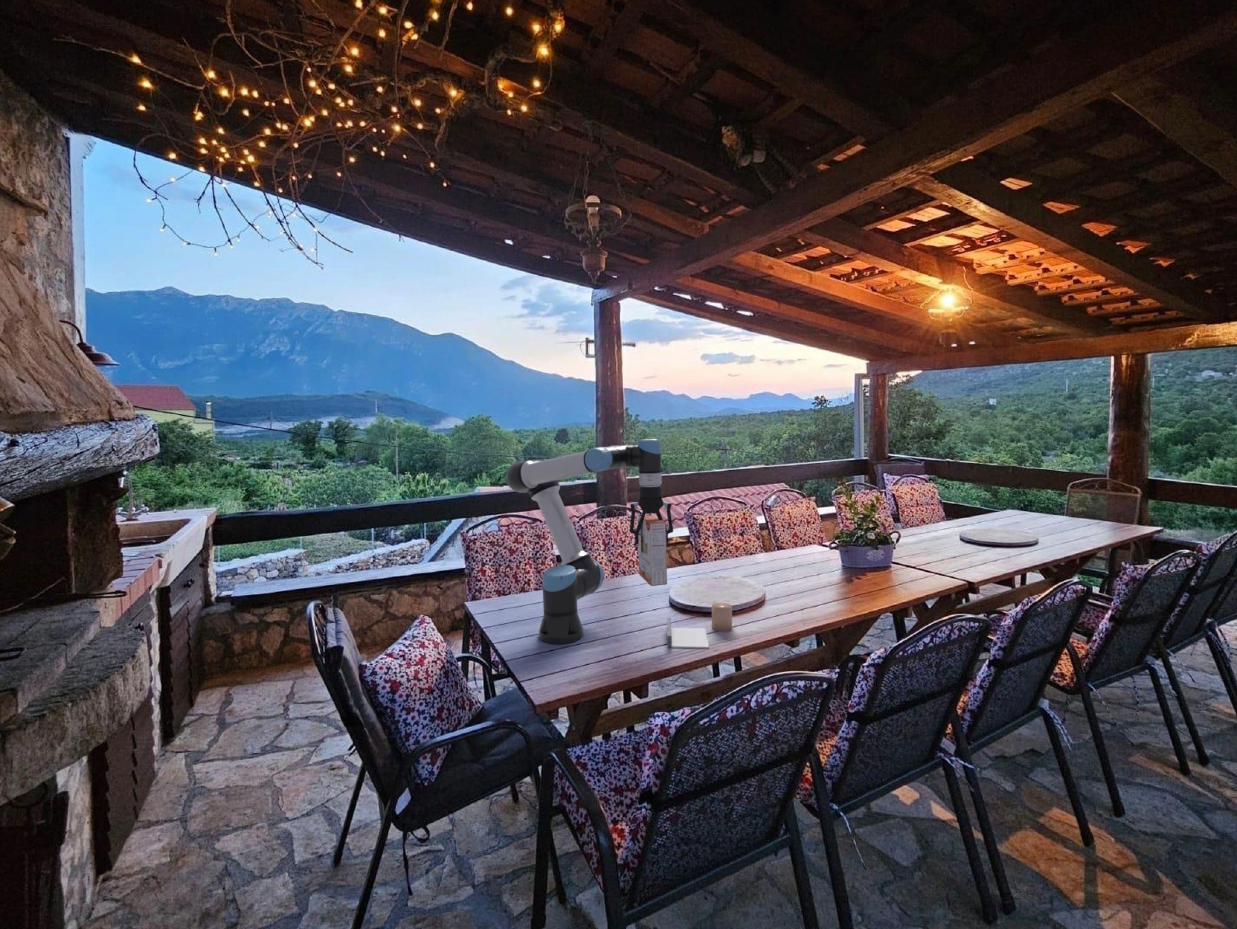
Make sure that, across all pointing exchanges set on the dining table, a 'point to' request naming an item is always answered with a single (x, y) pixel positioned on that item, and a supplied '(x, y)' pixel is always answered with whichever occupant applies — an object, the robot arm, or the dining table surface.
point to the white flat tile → (686, 637)
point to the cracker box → (653, 551)
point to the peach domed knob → (721, 617)
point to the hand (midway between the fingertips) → (651, 553)
